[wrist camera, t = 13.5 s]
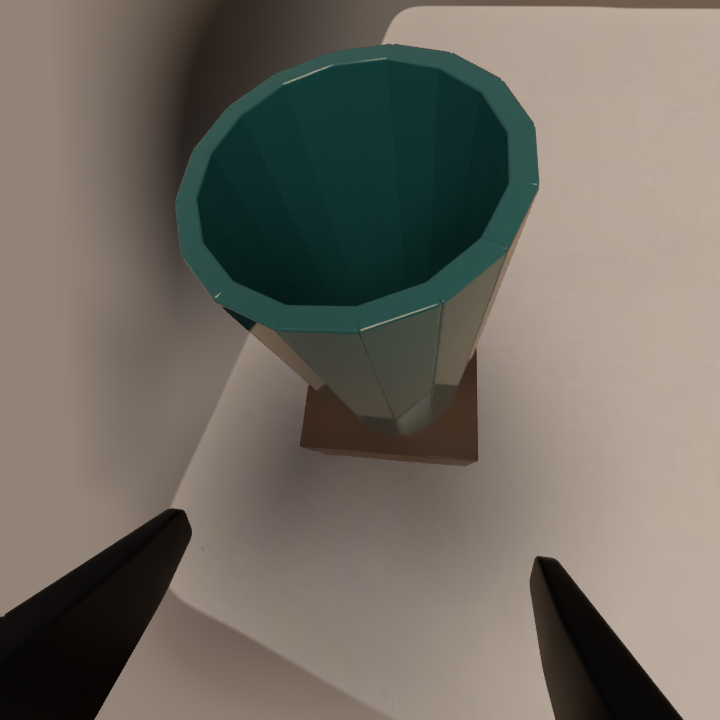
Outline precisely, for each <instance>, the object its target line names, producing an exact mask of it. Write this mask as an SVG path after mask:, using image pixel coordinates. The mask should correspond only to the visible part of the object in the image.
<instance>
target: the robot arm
mask: <svg viewBox="0 0 720 720" xmlns="http://www.w3.org/2000/svg"><path fill="white" fill-rule="evenodd" d="M191 536H192V529H191V526H190V523H189V520H188V518H187V515H186V513H185V511H184V510H181V509H174V508H171V509H167V510H165V511H164V512H162V513H161V514H159V515H158V516H156V517H155V518H153V519H152V520H150V521H149V522H147V523H145V524H144V525H143V526H141V527H139V528H138V529H136V530H134V531H133V532H132V533H130V534H129V535H127V536H125V537H124V538H122V539H121V540H119V541H118V542H116V543H114V544H113V545H111V546H110V547H108V548H107V549H105V550H104V551H102V552H100V553H99V554H97V555H96V556H94V557H93V558H91V559H90V560H88V561H86V562H85V563H83V564H82V565H80V566H79V567H77V568H76V569H74V570H73V571H71V572H69V573H68V574H66V575H65V576H63V577H62V578H60V579H59V580H57V581H56V582H54V583H53V584H51V585H49V586H48V587H46V588H45V589H43V590H42V591H40V592H39V593H37V594H35V595H34V596H32V597H31V598H30V599H28V600H26V601H25V602H23V603H22V604H20V605H18V606H17V607H15V608H14V609H12V610H11V611H9V612H8V613H6V614H5V616H4V617H0V720H94V719H95V717H96V716H97V714H98V712H99V710H100V709H101V707H102V705H103V703H104V701H105V700H106V698H107V696H108V694H109V693H110V691H111V689H112V687H113V686H114V684H115V682H116V680H117V679H118V677H119V675H120V673H121V672H122V670H123V668H124V666H125V665H126V663H127V661H128V659H129V657H130V656H131V654H132V652H133V650H134V649H135V647H136V645H137V643H138V642H139V640H140V638H141V636H142V635H143V633H144V631H145V629H146V628H147V626H148V624H149V622H150V621H151V619H152V617H153V615H154V614H155V612H156V610H157V608H158V606H159V604H160V603H161V601H162V599H163V597H164V595H165V593H166V591H167V589H168V587H169V585H170V583H171V580H172V578H173V576H174V574H175V572H176V570H177V567H178V565H179V563H180V561H181V559H182V557H183V554H184V552H185V550H186V548H187V546H188V544H189V542H190V539H191ZM530 592H531V598H532V604H533V611H534V617H535V624H536V630H537V636H538V643H539V649H540V655H541V661H542V667H543V672H544V676H545V680H546V685H547V689H548V692H549V696H550V700H551V704H552V708H553V712H554V716H555V720H683V719H682V717H681V716H680V715H679V714H678V712H677V711H676V710H675V708H674V707H673V706H672V705H671V703H670V702H669V701H668V700H667V698H666V697H665V696H664V695H663V693H662V692H661V691H660V689H659V688H658V687H657V686H656V684H655V683H654V682H653V681H652V679H651V678H650V677H649V676H648V674H647V673H646V672H645V670H644V669H643V668H642V667H641V665H640V664H639V663H638V662H637V660H636V659H635V658H634V657H633V655H632V654H631V653H630V651H629V650H628V649H627V648H626V646H625V645H624V644H623V643H622V641H621V640H620V639H619V638H618V636H617V635H616V634H615V632H614V631H613V630H612V629H611V627H610V626H609V625H608V624H607V622H606V621H605V620H604V619H603V617H602V616H601V615H600V613H599V612H598V611H597V610H596V608H595V607H594V606H593V605H592V603H591V602H590V601H589V600H588V598H587V597H586V596H585V594H584V593H583V592H582V591H581V589H580V588H579V587H578V586H577V584H576V583H575V582H574V581H573V579H572V578H571V577H570V575H569V574H568V573H567V572H566V570H565V569H564V568H563V567H562V565H561V564H560V563H559V562H558V561H557V560H556V559H554V558H549V557H542V556H537V557H536V558H535V560H534V564H533V568H532V572H531V576H530Z"/></svg>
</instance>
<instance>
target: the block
mask: <svg viewBox="0 0 720 720" xmlns="http://www.w3.org/2000/svg"><path fill="white" fill-rule="evenodd" d="M300 446H301V447H304V448H307V449H310V450H313V451H317V452H320V453H323V454H330V455H341V456H353V457H364V458H376V459H387V460H398V461H410V462H421V463H433V464H444V465H455V466H467V465H469V464H472V463H474V462H477V461H478V419H477V352H476V349H475V351H474V354H473V357H472V359H471V362H470V364H469V367H468V369H467V372H466V374H465V377H464V379H463V382H462V384H461V386H460V388H459V391H458V393H457V395H456V397H455V399H454V401H453V403H452V405H451V407H450V408H449V409H448V410H447V412H446V413H445V414H444V415H443V416H442V417H441V418H440V419H439V420H437V421H436V422H435V423H433V424H432V425H430V426H429V427H427V428H425V429H423V430H420V431H418V432H415V433H411V434H407V435H399V436H391V435H382V434H378V433H374V432H371V431H369V430H367V429H364V428H362V427H361V426H359V425H358V424H356V423H354V422H352V421H351V420H349V419H348V418H347V417H346V416H345V415H344V414H342V413H341V412H340V411H339V410H338V409H337V408H336V407H334V406H333V405H332V404H331V403H330V402H329V401H328V400H326V399H325V398H324V397H323V396H322V395H321V394H320V393H319V392H317V391H316V390H315V389H314V388H313V387H312V386H311V385H309V387H308V394H307V401H306V408H305V415H304V422H303V428H302V435H301V442H300Z"/></svg>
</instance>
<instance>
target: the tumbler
mask: <svg viewBox="0 0 720 720" xmlns="http://www.w3.org/2000/svg"><path fill="white" fill-rule="evenodd" d="M538 190H539V171H538V157H537V143H536V129H535V126H534V123H533V121H532V120H531V119H530V117H529V116H528V115H527V113H526V112H525V110H524V109H523V108H522V106H521V105H520V103H519V102H518V101H517V99H516V98H515V96H514V95H513V94H512V92H511V91H510V89H509V88H508V87H507V85H506V84H505V82H504V81H501V78H499V77H497V76H495V75H493V74H491V73H490V72H488V71H486V70H484V69H482V68H480V67H478V66H477V65H475V64H473V63H471V62H469V61H467V60H465V59H463V58H462V57H460V56H458V55H456V54H454V53H450V52H446V51H439V50H432V49H426V48H419V47H412V46H405V45H399V44H393V45H392V44H386V45H378V46H371V47H363V48H355V49H347V50H339V51H334V52H333V53H332V52H330V53H327V54H324V55H322V56H319V57H317V58H314V59H312V60H309V61H306V62H304V63H301V64H299V65H296V66H293V67H291V68H288V69H286V70H283V71H281V72H278V73H277V75H276V74H275V75H273V76H271V77H270V78H268V79H267V80H266V81H264V82H263V83H261V84H260V85H258V86H257V87H256V88H254V89H253V90H251V91H250V92H249V93H247V94H246V95H244V96H243V97H242V98H240V99H239V100H237V101H236V102H234V103H233V104H232V105H230V106H229V108H227V109H226V110H225V111H224V112H223V114H222V115H221V116H220V117H219V119H218V120H217V121H216V122H215V123H214V125H213V126H212V127H211V128H210V130H209V131H208V132H207V133H206V135H205V136H204V137H203V139H202V140H201V141H200V142H199V143H198V145H197V146H196V147H195V148H194V150H193V153H192V154H191V157H190V160H189V162H188V165H187V168H186V171H185V174H184V177H183V180H182V183H181V186H180V188H179V191H178V194H177V197H176V203H175V208H176V217H177V226H178V235H179V244H180V252H181V254H182V257H183V259H184V260H185V262H186V263H187V264H188V266H189V267H190V269H191V270H192V271H193V273H194V274H195V275H196V277H197V278H198V280H199V281H200V282H201V283H202V285H203V286H204V288H205V289H206V291H207V292H208V293H209V295H210V296H211V297H212V299H213V300H214V301H215V302H216V303H217V304H219V305H220V306H221V307H222V308H223V309H224V310H226V311H227V312H228V313H229V314H230V315H231V316H232V317H234V319H236V320H237V321H238V322H239V323H240V324H241V325H242V326H244V327H245V328H246V329H247V330H248V331H249V332H250V333H251V334H253V335H254V336H255V337H256V338H257V339H258V340H259V341H261V342H262V343H263V344H264V345H265V346H266V347H267V348H269V349H270V350H271V351H272V352H273V353H274V354H275V355H276V356H278V357H279V358H280V359H281V360H282V361H283V362H284V363H286V364H287V365H288V366H289V367H290V368H291V369H292V370H294V371H295V372H296V373H297V374H298V375H299V376H300V377H301V378H303V379H304V380H305V381H306V382H307V383H308V384H309V385H311V386H312V387H313V388H314V389H315V390H316V391H317V392H319V393H320V394H321V395H322V396H323V397H324V398H325V399H326V400H328V401H329V402H330V403H331V404H332V405H333V406H334V407H336V408H337V409H338V410H339V411H340V412H341V413H342V414H344V415H345V416H346V417H347V418H348V419H349V420H351V421H352V422H354V423H356V424H358V425H359V426H361V427H362V428H364V429H367V430H369V431H371V432H374V433H378V434H382V435H391V436H399V435H407V434H411V433H415V432H418V431H420V430H423V429H425V428H427V427H429V426H430V425H432V424H433V423H435V422H436V421H437V420H439V419H440V418H441V417H442V416H443V415H444V414H445V413H446V412H447V410H448V409H449V408H450V407H451V405H452V403H453V401H454V399H455V397H456V395H457V393H458V391H459V388H460V386H461V384H462V382H463V379H464V377H465V374H466V372H467V369H468V367H469V364H470V362H471V359H472V357H473V354H474V351H475V349H476V346H477V344H478V341H479V339H480V336H481V334H482V331H483V329H484V326H485V324H486V321H487V319H488V316H489V314H490V311H491V309H492V306H493V304H494V301H495V298H496V296H497V293H498V291H499V288H500V286H501V283H502V281H503V278H504V276H505V273H506V271H507V268H508V266H509V263H510V261H511V258H512V256H513V253H514V250H515V248H516V245H517V243H518V240H519V238H520V235H521V233H522V230H523V228H524V225H525V223H526V220H527V218H528V215H529V213H530V210H531V208H532V205H533V203H534V200H535V197H536V195H537V192H538Z"/></svg>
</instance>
